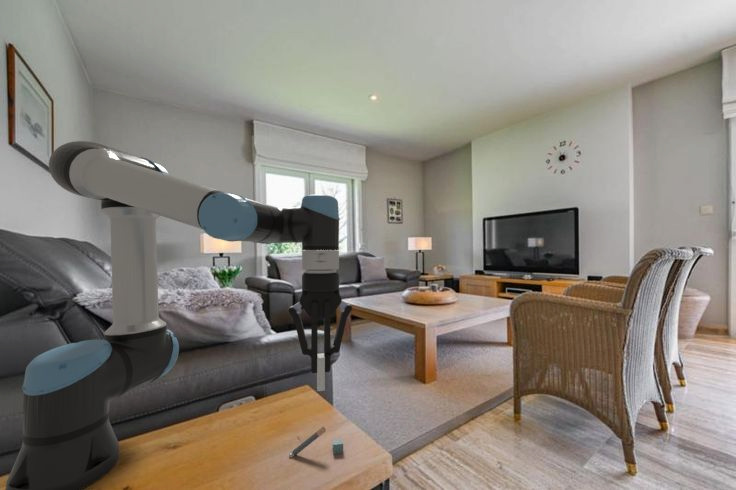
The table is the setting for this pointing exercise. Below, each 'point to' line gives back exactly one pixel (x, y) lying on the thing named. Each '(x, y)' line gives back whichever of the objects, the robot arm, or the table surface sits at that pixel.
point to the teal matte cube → (337, 446)
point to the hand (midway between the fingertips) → (320, 387)
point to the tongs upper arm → (307, 442)
